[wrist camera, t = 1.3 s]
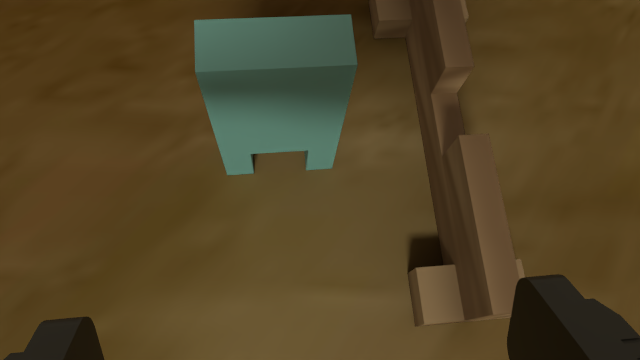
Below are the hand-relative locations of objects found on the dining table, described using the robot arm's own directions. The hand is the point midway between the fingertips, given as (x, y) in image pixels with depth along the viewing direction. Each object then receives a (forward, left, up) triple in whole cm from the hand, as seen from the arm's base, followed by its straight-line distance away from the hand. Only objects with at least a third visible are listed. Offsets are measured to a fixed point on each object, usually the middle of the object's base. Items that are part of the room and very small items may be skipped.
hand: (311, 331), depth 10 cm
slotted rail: (+10, +12, -20) cm, 25 cm away
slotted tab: (0, +12, -20) cm, 23 cm away
